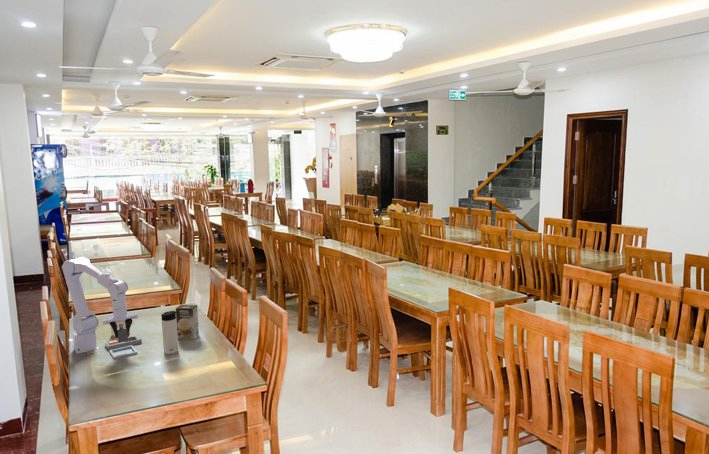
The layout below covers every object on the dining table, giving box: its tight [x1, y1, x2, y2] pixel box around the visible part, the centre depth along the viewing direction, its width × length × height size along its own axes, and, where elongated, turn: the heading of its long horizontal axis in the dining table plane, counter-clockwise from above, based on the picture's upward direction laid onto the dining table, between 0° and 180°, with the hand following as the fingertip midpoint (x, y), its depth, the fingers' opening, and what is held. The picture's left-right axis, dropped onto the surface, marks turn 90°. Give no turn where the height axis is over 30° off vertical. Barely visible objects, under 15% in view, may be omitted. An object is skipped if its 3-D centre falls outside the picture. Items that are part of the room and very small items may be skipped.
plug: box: [116, 323, 129, 343], centre depth 231 cm, size 4×4×8 cm
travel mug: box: [161, 310, 179, 356], centre depth 232 cm, size 6×7×20 cm
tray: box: [108, 345, 139, 360], centre depth 233 cm, size 10×10×2 cm
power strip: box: [104, 334, 143, 351], centre depth 243 cm, size 15×7×3 cm, turn 126°
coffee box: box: [175, 304, 200, 340], centre depth 252 cm, size 9×6×16 cm
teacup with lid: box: [110, 315, 131, 338], centre depth 260 cm, size 12×9×12 cm
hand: (121, 336), depth 232 cm, fingers closed on plug, 4 cm apart
